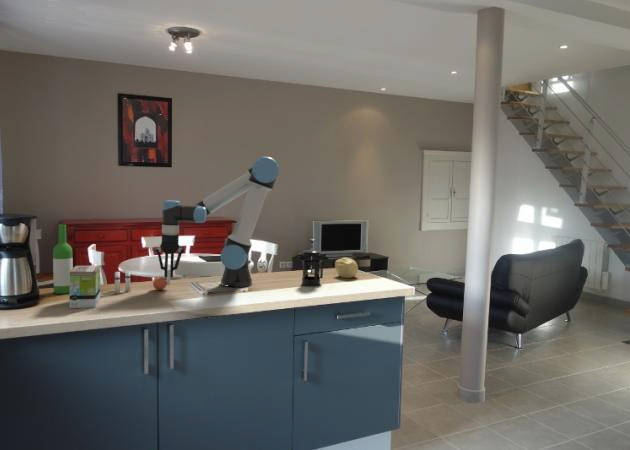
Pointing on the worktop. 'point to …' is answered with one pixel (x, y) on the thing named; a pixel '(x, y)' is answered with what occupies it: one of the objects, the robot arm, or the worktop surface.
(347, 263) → the sculpture
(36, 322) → the worktop surface
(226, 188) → the robot arm
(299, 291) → the worktop surface
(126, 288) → the front pin
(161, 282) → the ball
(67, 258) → the wine bottle
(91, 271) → the tea box
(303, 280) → the french press
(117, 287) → the pin
